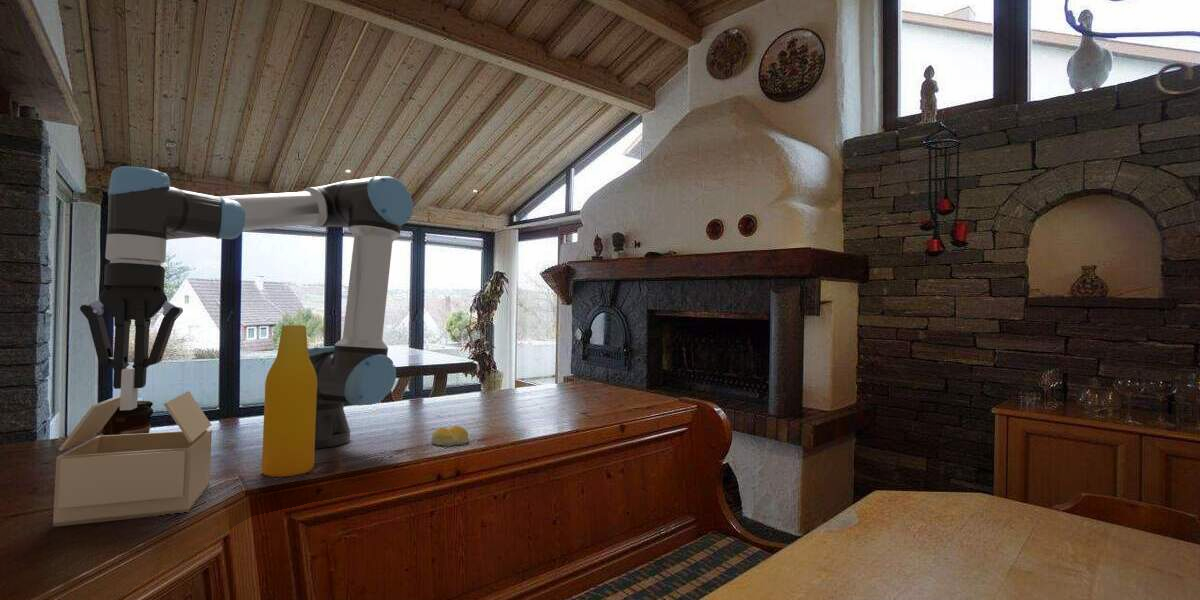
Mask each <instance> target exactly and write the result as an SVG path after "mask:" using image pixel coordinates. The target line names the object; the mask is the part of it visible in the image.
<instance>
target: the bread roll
mask: <svg viewBox="0 0 1200 600" xmlns="http://www.w3.org/2000/svg"><path fill="white" fill-rule="evenodd" d="M430 440H431V441H430V442H431V443H432V444H433V445H435V444H436V445H435V446H441V445H443V446H442V447H449V446H450V447H451V446H455V445H456V446H459V445H465V444H467V443H469V442H470V439H469V433H468V431H467V430H466V428H465V427H462V426H459V425H454V426H452V427H449V428H446V427H442V428H441V427H440V428H438V429H436V430H435V431H434V432H433V433H432V435H431V438H430Z"/></svg>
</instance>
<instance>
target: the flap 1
mask: <svg viewBox="0 0 1200 600" xmlns="http://www.w3.org/2000/svg"><path fill="white" fill-rule="evenodd" d="M119 406H120V394H119V395H116V396H114V397H112V398H109V399H107V400H103V401H101V402H98V403H96V404H92V406H91V407H90V408H89V410H87V412H86V413H85V415H84V416H82V418H81V420H80V421H79V422H78V424H76V426H75V428H73V430H72V431H71V433H70V434H69V435H68V437H67V438H66V439H65V441H64V442H63V443H62V444H61V445H60V447H59V448H58V450H59V451H64V450H67V449H68V448H71V447H72V446H74V445H76V444H78V443H80V442H82V441H84V440H86V439H88V438H90V437H92V436H95V435H96V434H99V433H101V430H102V428H103V427H104V426H105V424H106V423H107V422H108V420H109V419H110V418H111V416H112V415H113V414H114V412H115V411H116V410H117V408H118V407H119Z"/></svg>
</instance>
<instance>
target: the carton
mask: <svg viewBox="0 0 1200 600" xmlns="http://www.w3.org/2000/svg"><path fill="white" fill-rule="evenodd" d="M212 433H213V429H206V430H205V431H204V432H203V433H202V434H201V435H199V436H198V437H197V438H196V439H195V440H194V441H192V442H189V441H188V439H187V438H186V437H185V435H184V434H183V432H182V431H165V432H149V433H142V434H123V435H105V436H101V435H97V436H95V437H94V438H91V439H89V440H87V441H85V442H83V443H81V444H80V445H77V446H76V447H73V448H72V449H70V450H68V451H65V452H64V453H62V454H60V455H57V456H56V463H55V481H54V485H55V486H54V500H53V515H52V516H53V517H52V518H53V519H52V528H57V527H65V526H75V525H83V524H92V523H103V522H112V521H121V520H122V521H123V520H131V519H141V518H142V519H143V518H150V517H160V516H159V515H162V516H166V515H165V514H171V515H176V514H175V513H180V514H185V513H184V512H188V513H189V512H190V511H191V510H192V509H191V507H192V506H193V505H194V504H195V505H196V503H197V502H198V501H199V499H200V498H201V497H202V496H203V494H204V493H205V492H204V491H206V490H207V489H208V488H207V487H210V482H211V481H210V480H211V479H210V478H211V460H212V459H211V455H212ZM206 488H207V489H206ZM203 492H204V493H203ZM201 495H202V496H201ZM200 496H201V497H200ZM199 497H200V498H199ZM198 498H199V499H198ZM197 500H198V501H197ZM196 501H197V502H196ZM195 502H196V503H195ZM195 505H194V506H195ZM194 506H193V507H194ZM193 507H192V508H193ZM190 509H191V510H190ZM189 510H190V511H189Z"/></svg>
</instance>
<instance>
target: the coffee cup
mask: <svg viewBox="0 0 1200 600" xmlns="http://www.w3.org/2000/svg"><path fill="white" fill-rule="evenodd" d="M153 405H154V403H153V402H152V401H151V400H137V408H135V409H132V410H120V406H119V407H118V408H117V410H116V411H115V412H114V414H113V415H112V416H111V418H110V419H109V420H108V422H107V423H106V424H105V426H104V427H103V428H102V430H101V431H100V436H105V435H123V434H142V433H150V431H151V427H152V426H151V423H150V422H151V419H152V418H151V416H152V415H153V414H154V409H153V408H152V407H153Z"/></svg>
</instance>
